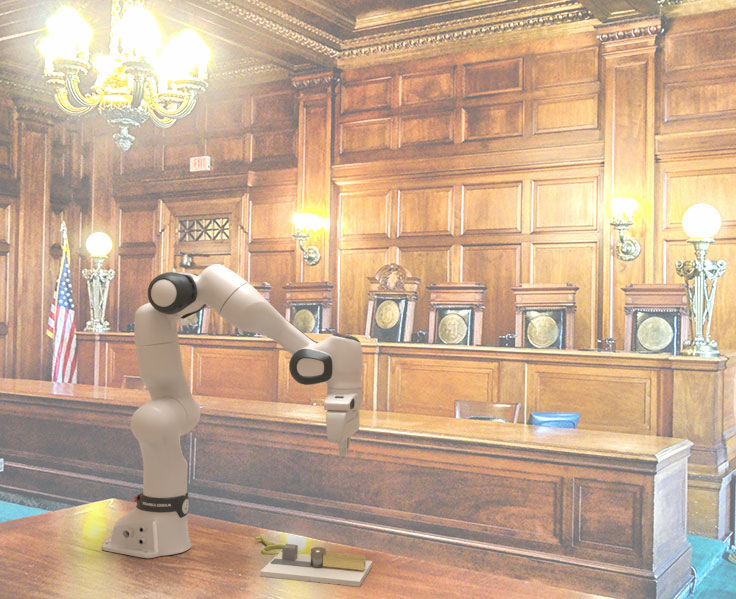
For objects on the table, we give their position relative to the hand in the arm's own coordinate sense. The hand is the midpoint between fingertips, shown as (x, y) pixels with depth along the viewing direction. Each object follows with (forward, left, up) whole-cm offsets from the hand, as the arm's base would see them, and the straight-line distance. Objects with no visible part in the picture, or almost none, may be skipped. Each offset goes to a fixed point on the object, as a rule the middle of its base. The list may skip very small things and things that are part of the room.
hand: (344, 454), depth 198 cm
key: (-21, +7, -28) cm, 36 cm away
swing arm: (+1, -7, -26) cm, 27 cm away
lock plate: (-4, -7, -27) cm, 28 cm away
